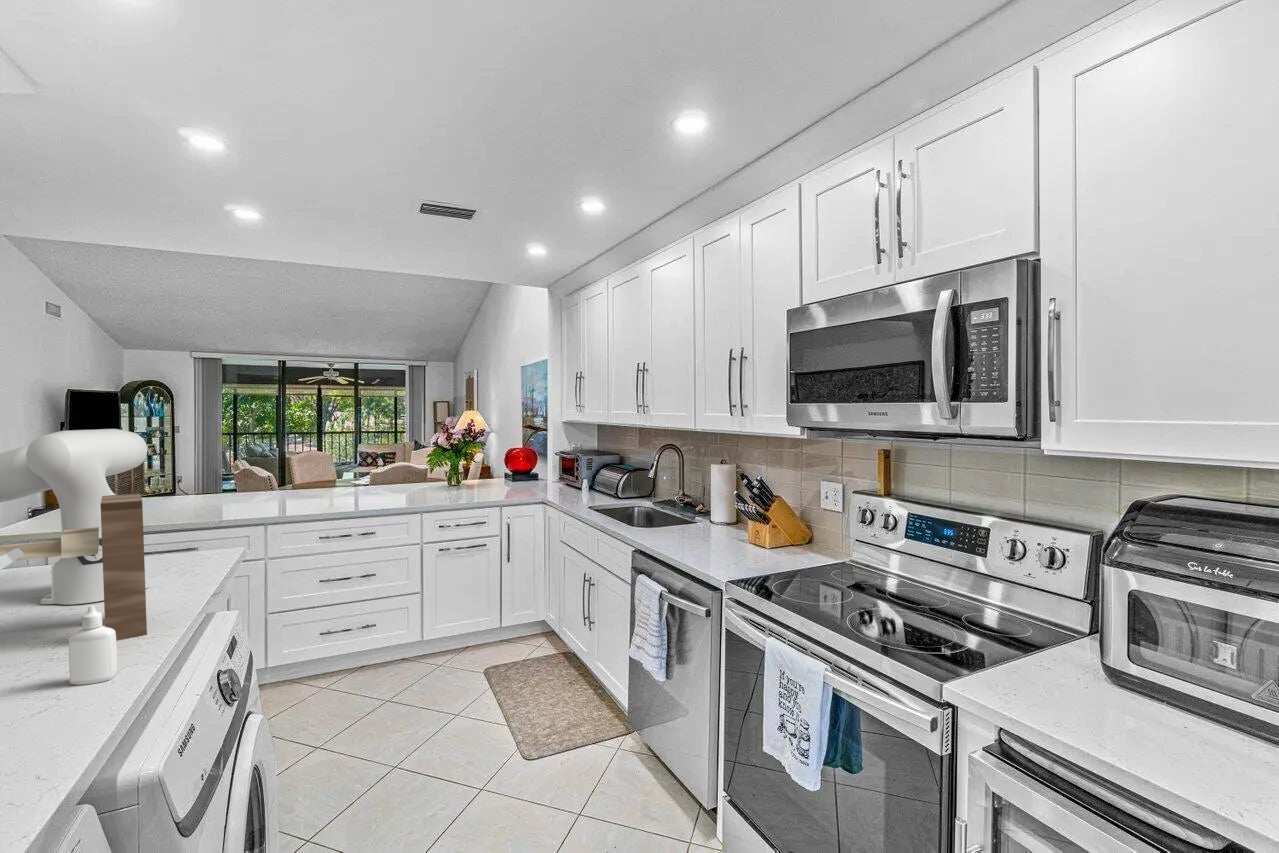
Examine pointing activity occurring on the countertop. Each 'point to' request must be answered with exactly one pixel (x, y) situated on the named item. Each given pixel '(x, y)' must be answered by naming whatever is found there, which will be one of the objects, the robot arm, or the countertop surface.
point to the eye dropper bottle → (92, 651)
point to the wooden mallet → (61, 545)
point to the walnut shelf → (123, 565)
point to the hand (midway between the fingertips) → (23, 548)
